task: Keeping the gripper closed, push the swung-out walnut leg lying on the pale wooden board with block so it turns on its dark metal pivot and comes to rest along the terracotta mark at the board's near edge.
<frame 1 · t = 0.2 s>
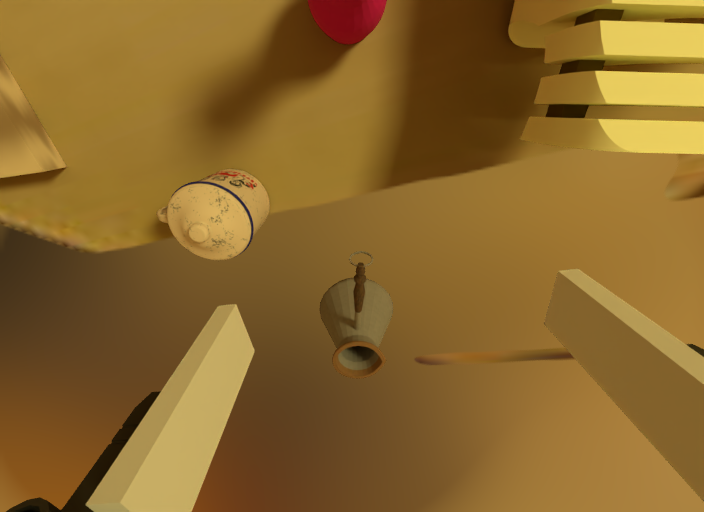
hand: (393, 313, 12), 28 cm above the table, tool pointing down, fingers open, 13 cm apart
pepper mill: (347, 7, 29), on the table
teacup with lid: (228, 200, 38), on the table
coffee pot: (356, 273, 44), on the table
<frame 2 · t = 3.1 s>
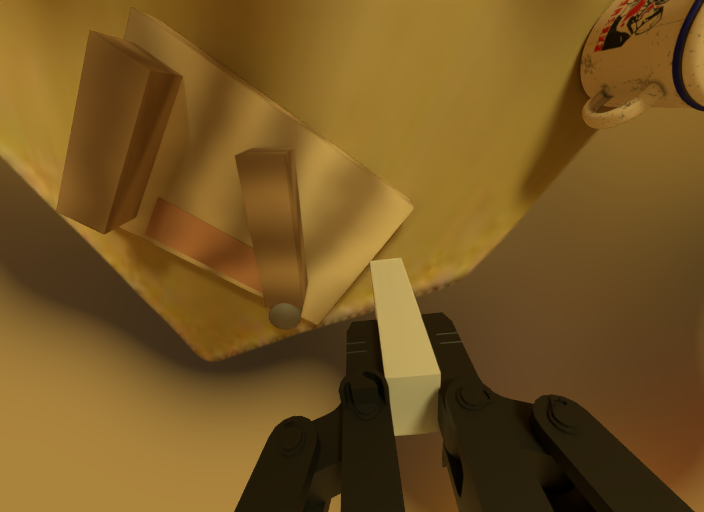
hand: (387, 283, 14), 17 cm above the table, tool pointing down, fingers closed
wooden board with block: (258, 199, 29), on the table
teacup with lid: (612, 64, 24), on the table
hinged leg: (280, 245, 26), point 5 cm above the table, hinge at -55.0°
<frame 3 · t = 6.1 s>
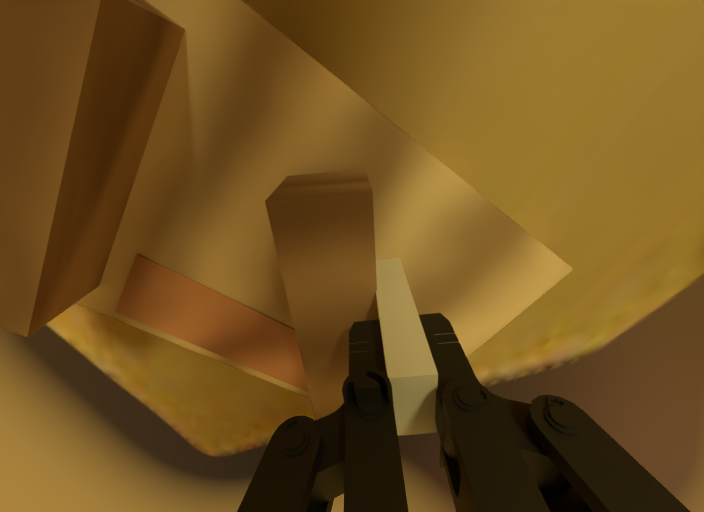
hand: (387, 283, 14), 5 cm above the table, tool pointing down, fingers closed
wooden board with block: (302, 248, 18), on the table
hinged leg: (342, 340, 15), point 5 cm above the table, hinge at -50.6°, touching gripper
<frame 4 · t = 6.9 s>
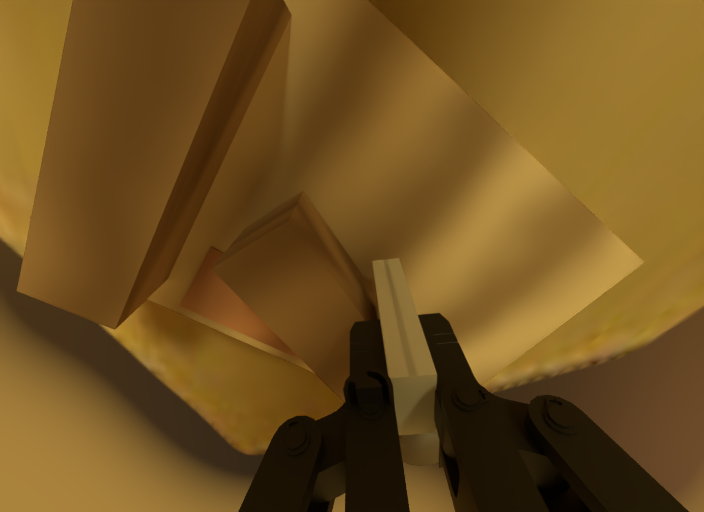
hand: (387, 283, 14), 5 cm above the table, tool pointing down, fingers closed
wooden board with block: (363, 242, 18), on the table
hinged leg: (361, 348, 15), point 6 cm above the table, hinge at -23.6°, touching gripper
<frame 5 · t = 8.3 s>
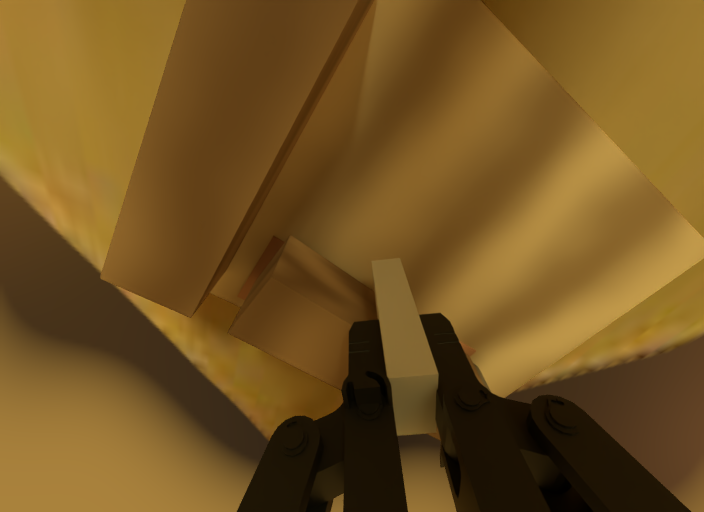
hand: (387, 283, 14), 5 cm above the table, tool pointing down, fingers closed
wooden board with block: (416, 232, 18), on the table
hinged leg: (391, 359, 15), point 5 cm above the table, hinge at -4.5°, touching gripper
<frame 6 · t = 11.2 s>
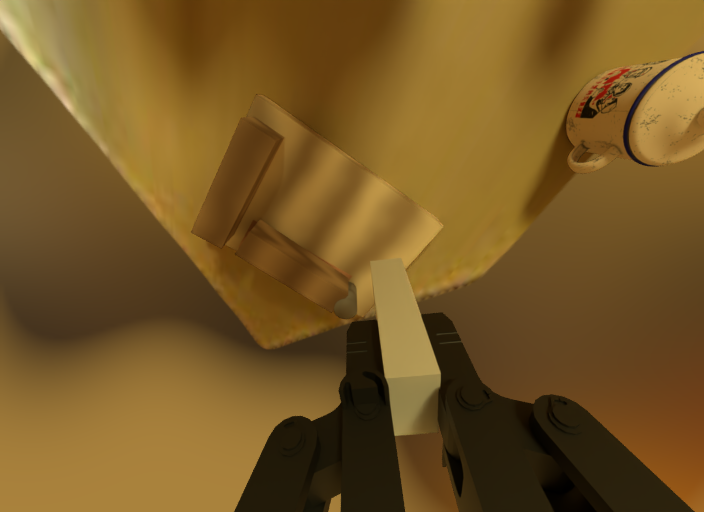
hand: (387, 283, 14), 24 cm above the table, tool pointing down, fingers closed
wooden board with block: (322, 219, 38), on the table
teacup with lid: (590, 122, 33), on the table
hinged leg: (304, 273, 36), point 6 cm above the table, hinge at -4.5°
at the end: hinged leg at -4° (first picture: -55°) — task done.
